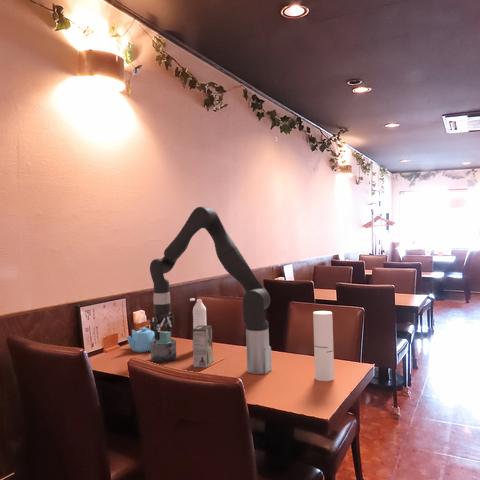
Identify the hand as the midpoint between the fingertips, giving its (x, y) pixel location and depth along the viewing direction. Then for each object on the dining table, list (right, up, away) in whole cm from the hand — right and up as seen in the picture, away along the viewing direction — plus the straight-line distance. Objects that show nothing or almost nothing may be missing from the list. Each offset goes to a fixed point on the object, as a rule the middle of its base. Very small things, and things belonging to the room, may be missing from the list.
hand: (163, 337), depth 192 cm
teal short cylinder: (0, -3, 0) cm, 3 cm away
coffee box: (+19, -10, -9) cm, 23 cm away
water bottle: (+15, -9, +14) cm, 23 cm away
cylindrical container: (+67, -8, -31) cm, 75 cm away
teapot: (-13, -10, +19) cm, 25 cm away
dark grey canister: (0, -10, 0) cm, 10 cm away
